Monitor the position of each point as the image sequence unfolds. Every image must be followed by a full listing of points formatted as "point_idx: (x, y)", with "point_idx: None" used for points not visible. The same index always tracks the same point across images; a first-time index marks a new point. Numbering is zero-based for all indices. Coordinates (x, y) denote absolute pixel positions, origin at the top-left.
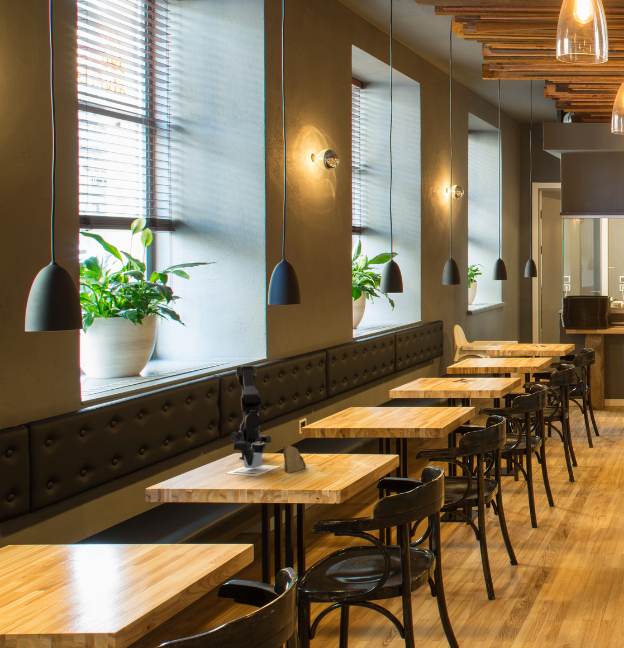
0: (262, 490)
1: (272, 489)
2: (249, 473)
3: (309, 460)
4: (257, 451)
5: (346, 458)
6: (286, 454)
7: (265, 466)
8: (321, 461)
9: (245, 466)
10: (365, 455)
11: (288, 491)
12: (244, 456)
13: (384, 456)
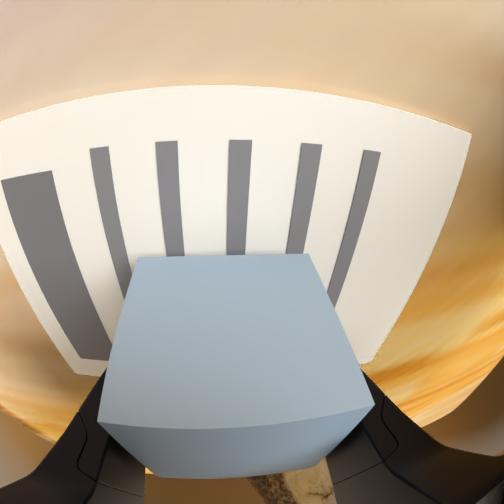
0: (3, 411)
1: (27, 424)
2: (76, 330)
3: (472, 352)
4: (350, 459)
5: (456, 391)
6: (260, 495)
7: (375, 299)
8: (442, 383)
9: (135, 276)
10: (470, 391)
11: (48, 440)
12: (106, 400)
13: (445, 412)
